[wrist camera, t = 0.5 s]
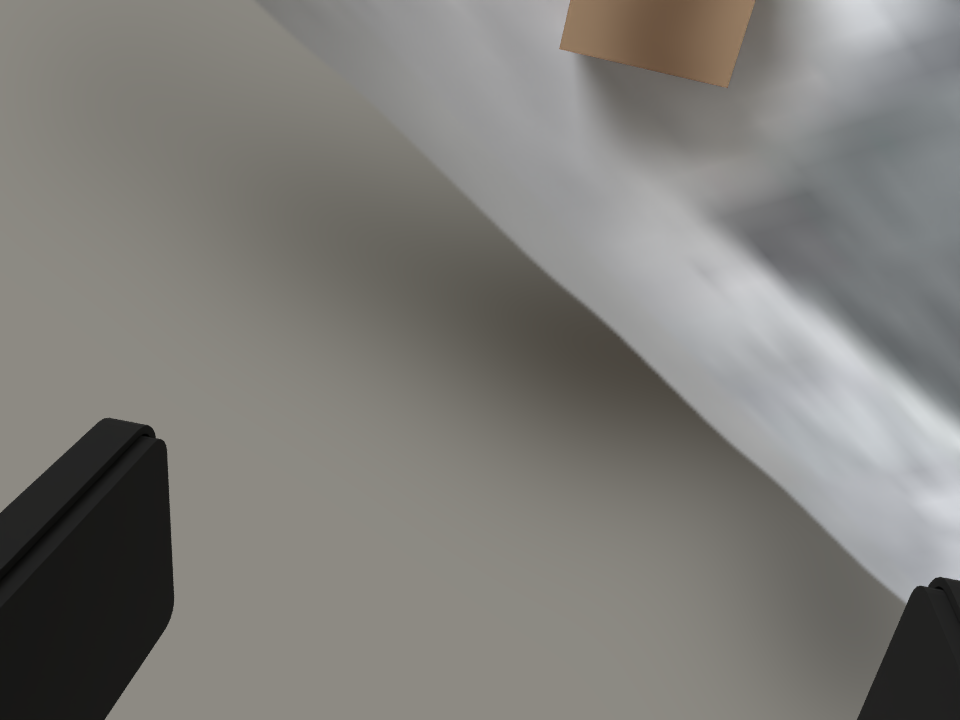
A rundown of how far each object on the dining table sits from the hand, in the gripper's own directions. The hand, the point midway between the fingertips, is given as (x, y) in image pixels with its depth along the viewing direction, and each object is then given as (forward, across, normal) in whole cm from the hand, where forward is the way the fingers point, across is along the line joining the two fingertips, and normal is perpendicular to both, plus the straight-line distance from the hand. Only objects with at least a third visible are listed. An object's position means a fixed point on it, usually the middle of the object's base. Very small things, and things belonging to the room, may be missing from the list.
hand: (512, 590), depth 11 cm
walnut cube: (+30, -1, -6) cm, 31 cm away
